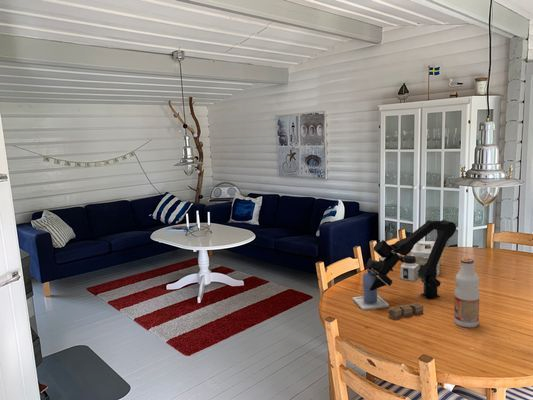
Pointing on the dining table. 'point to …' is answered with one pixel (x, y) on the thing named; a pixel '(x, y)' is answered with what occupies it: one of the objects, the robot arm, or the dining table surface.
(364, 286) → the blue cylinder
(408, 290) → the dining table surface
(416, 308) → the walnut block
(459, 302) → the fruit juice
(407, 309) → the walnut block
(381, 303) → the tray
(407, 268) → the container
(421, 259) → the storage basket
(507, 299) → the dining table surface
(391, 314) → the walnut block
